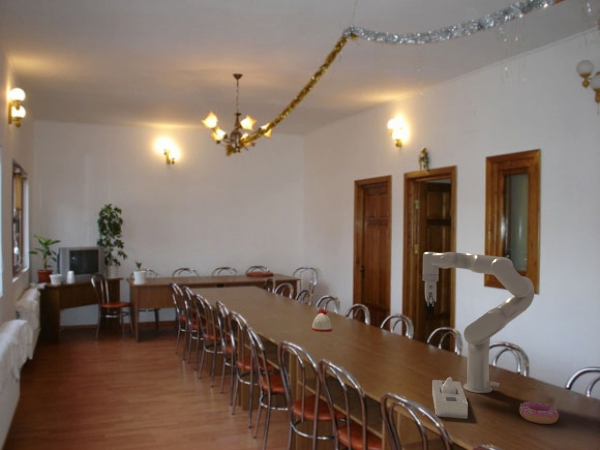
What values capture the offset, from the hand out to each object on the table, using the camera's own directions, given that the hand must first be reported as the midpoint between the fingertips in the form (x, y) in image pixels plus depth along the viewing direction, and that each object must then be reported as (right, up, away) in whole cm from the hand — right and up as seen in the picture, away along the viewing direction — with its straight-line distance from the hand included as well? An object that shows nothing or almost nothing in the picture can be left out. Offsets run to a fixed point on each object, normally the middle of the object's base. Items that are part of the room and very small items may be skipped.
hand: (429, 312), depth 264 cm
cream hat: (-47, -32, +123) cm, 135 cm away
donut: (+32, -35, -48) cm, 67 cm away
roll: (0, -34, -34) cm, 48 cm away
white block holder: (0, -34, -34) cm, 48 cm away
